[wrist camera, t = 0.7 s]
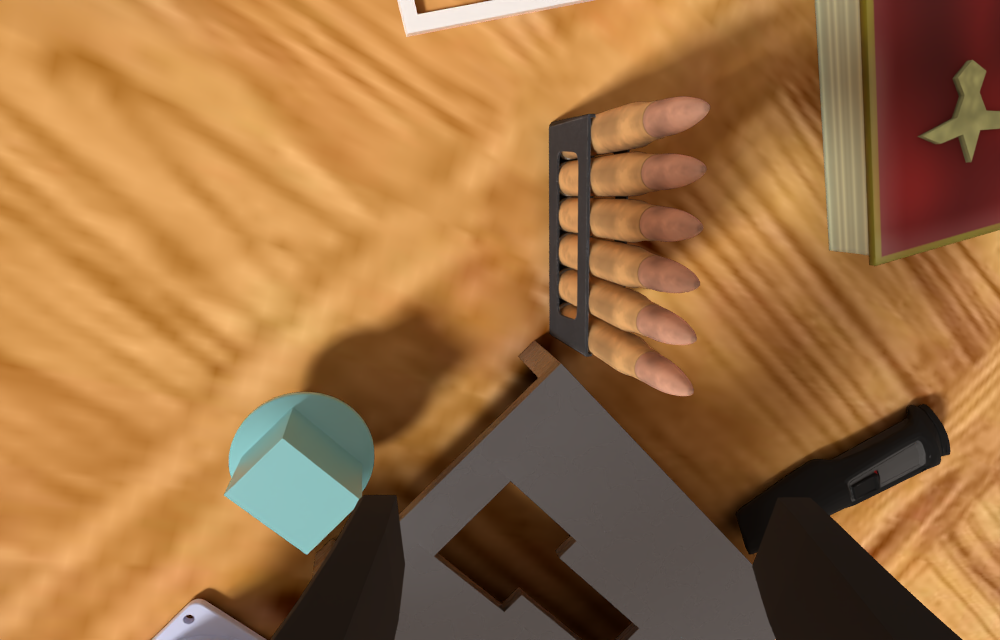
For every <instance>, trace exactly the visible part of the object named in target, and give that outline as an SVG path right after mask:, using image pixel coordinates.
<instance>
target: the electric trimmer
mask: <svg viewBox="0 0 1000 640" xmlns="http://www.w3.org/2000/svg"><path fill="white" fill-rule="evenodd" d="M907 411H908V412H907V413H908V415H907V418H906V419H904V420H903V421H901V422H899V423H898V424H896V425H894V426H892V427H890V428H889V429H887V430H885V431H883V432H881V433H879V434H878V435H876V436H874V437H872V438H870V439H868V440H867V441H865V442H863V443H861V444H859V445H858V446H856V447H854V448H852V449H850V450H848V451H847V452H845V453H843V454H841V455H839V456H837V457H836V458H834V459H832V460H826V459H813V460H810V461H808V462H807V463H805V464H804V465H802V466H801V467H799V468H798V469H796V470H795V471H793V472H792V473H790V474H789V475H787V476H786V477H785V478H783V479H782V480H780V481H779V482H777V483H776V484H775V485H773V486H772V487H770V488H769V489H768V490H766V491H765V492H763V493H762V494H760V495H759V496H758V497H756V498H755V499H753V500H752V501H751V502H749V503H748V504H746V505H745V506H744V507H742V508H741V509H740V510H739V511H738V512H737V514H736V517H737V520H738V523H739V526H740V530H741V533H742V537H743V540H744V544H745V547H746V549H747V551H748V553H749V554H754V553H756V552H758V549H759V547H760V544H761V541H762V539H763V536H764V533H765V531H766V528H767V525H768V523H769V520H770V517H771V515H772V512H773V509H774V507H775V504H776V501H777V499H778V497H793V498H811V499H812V500H813V501H815V502H816V503H817V504H818V505H819V506H820V507H821V508H822V509H823V510H824V511H825V512H826V513H827V514H828V515H829V516H830V515H832V514H834V513H836V512H838V511H840V510H842V509H844V508H847V507H850V506H853V505H856V504H858V503H860V502H862V501H864V500H866V499H868V498H870V497H872V496H874V495H876V494H878V493H880V492H882V491H884V490H886V489H888V488H890V487H892V486H894V485H896V484H898V483H900V482H902V481H904V480H906V479H908V478H911V477H913V476H915V475H917V474H919V473H921V472H923V471H925V470H927V469H929V468H932V467H934V466H937V465H939V464H940V462H941V456H945V455H949V454H950V444H949V439H948V435H947V433H946V431H945V428H944V426H943V425H942V423H941V422H940V420H939V419H938V417H937V416H936V414H935V413H934V412H933V411H932V410H931V408H930V407H928V406H927V405H925V404H922V405H920V406H918V407H916V406H914V405H910V406H909V407H907Z"/></svg>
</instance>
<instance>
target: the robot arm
mask: <svg viewBox="0 0 1000 640" xmlns="http://www.w3.org/2000/svg"><path fill="white" fill-rule="evenodd" d="M752 568H753V571H754V574H755V578H756V581H757V585H758V588H759V592H760V595H761V599H762V602H763V605H764V608H765V611H766V614H767V618H768V621H769V624H770V626H771V628H772V631H773V633H774V636H775V638H776V640H962V639H961V638H960V637H959V636H958V635H957V634H955V633H954V632H953V631H952V630H951V629H950V628H949V627H947V626H946V625H945V624H944V623H943V622H942V621H941V620H940V619H939V618H937V617H936V616H935V615H934V614H933V613H932V612H931V611H930V610H928V609H927V608H926V607H925V606H924V605H923V604H922V603H921V602H920V601H919V600H918V599H916V598H915V597H914V596H913V595H912V594H911V593H910V592H909V591H908V590H907V589H906V588H905V587H904V586H902V585H901V584H900V583H899V582H898V581H897V580H896V579H895V578H894V577H893V576H892V575H891V574H890V573H889V572H888V571H886V570H885V569H884V568H883V567H882V566H881V565H880V564H879V563H878V562H877V561H876V560H875V559H874V558H873V557H872V556H871V555H870V554H869V553H868V552H867V551H866V550H865V549H863V548H862V547H861V546H860V545H859V544H858V543H857V542H856V541H855V540H854V539H853V538H852V537H851V536H850V535H849V534H848V533H847V532H846V531H845V530H844V529H843V528H842V527H841V526H840V525H839V524H838V523H837V522H836V521H835V520H833V519H832V518H831V517H830V516H829V515H828V514H827V513H826V512H825V511H824V510H823V509H822V508H821V507H820V506H819V505H818V504H817V503H816V502H815V501H813V500H812V499H811V498H793V497H778V499H777V501H776V504H775V507H774V509H773V512H772V515H771V517H770V520H769V523H768V525H767V528H766V531H765V533H764V536H763V539H762V541H761V544H760V547H759V549H758V552H757V555H756V557H755V560H754V563H753V566H752ZM404 570H405V559H404V551H403V543H402V536H401V528H400V520H399V512H398V504H397V496H396V495H364V496H362V497H361V498H360V499H359V500H358V502H357V504H356V506H355V508H354V510H353V512H352V513H351V515H350V517H349V519H348V521H347V523H346V524H345V526H344V528H343V530H342V531H341V533H340V535H339V536H338V538H337V540H336V542H335V543H334V545H333V547H332V548H331V550H330V551H329V553H328V555H327V556H326V558H325V560H324V561H323V563H322V564H321V566H320V568H319V569H318V571H317V572H316V574H315V575H314V577H313V578H312V580H311V581H310V583H309V584H308V586H307V587H306V589H305V590H304V592H303V594H302V595H301V597H300V598H299V600H298V601H297V603H296V604H295V606H294V607H293V608H292V610H291V611H290V613H289V614H288V616H287V617H286V618H285V620H284V621H283V622H282V624H281V625H280V627H279V628H278V629H277V631H276V632H275V634H274V635H273V636H272V638H271V639H270V640H395V635H396V630H397V626H398V621H399V613H400V605H401V597H402V588H403V579H404ZM186 615H192V616H194V618H187V617H186ZM152 640H266V639H265V638H263V637H262V636H260V635H259V634H257V633H255V632H254V631H252V630H251V629H249V628H248V627H246V626H244V625H243V624H241V623H240V622H238V621H237V620H235V619H234V618H232V617H230V616H229V615H227V614H226V613H224V612H223V611H221V610H219V609H218V608H216V607H215V606H213V605H212V604H210V603H209V602H207V601H205V600H203V599H195V600H192V601H191V602H189V603H188V604H187V605H186V606H185V607H184V608H183V609H182V610H181V611H180V612H179V613H178V614H177V615H176V616H175V617H174V618H173V619H172V620H171V621H170V622H169V623H168V624H167V625H166V626H165V627H164V628H163V629H162V630H161V631H160V632H159V633H158V634H157V635H156V636H155V637H154V638H153V639H152Z"/></svg>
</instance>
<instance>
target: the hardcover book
mask: <svg viewBox="0 0 1000 640" xmlns="http://www.w3.org/2000/svg"><path fill="white" fill-rule="evenodd" d="M815 12H816V29H817V47H818V64H819V81H820V99H821V116H822V134H823V151H824V169H825V186H826V203H827V221H828V238H829V250H831V251H839V252H847V253H855V254H863V255H869V265H874V266H877V265H880V264H884V263H887V262H890V261H894V260H897V259H901V258H904V257H908V256H911V255H915V254H918V253H921V252H925V251H928V250H932V249H935V248H939V247H942V246H946V245H949V244H952V243H956V242H959V241H963V240H966V239H970V238H973V237H977V236H980V235H983V234H987V233H990V232H994V231H997V230H1000V0H815Z"/></svg>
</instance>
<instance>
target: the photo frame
mask: <svg viewBox="0 0 1000 640" xmlns="http://www.w3.org/2000/svg"><path fill="white" fill-rule="evenodd" d="M397 1H398V5H399V9H400V13H401V17H402V21H403V25H404V29H405V33H406V37H408V36H414V35H419V34H424V33H429V32H434V31H439V30H444V29H450V28H455V27H460V26H465V25H470V24H475V23H480V22H485V21H491V20H496V19H501V18H506V17H511V16H516V15H521V14H527V13H532V12H537V11H542V10H547V9H552V8H557V7H563V6H568V5H573V4H578V3H583V2H588V1H593V0H492V1H486V2H481V3H476V4H470V5H465V6H460V7H454V8H449V9H444V10H438V11H433V12H428V13H422V14H417V10H416V6H415V2H414V0H397Z"/></svg>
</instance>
